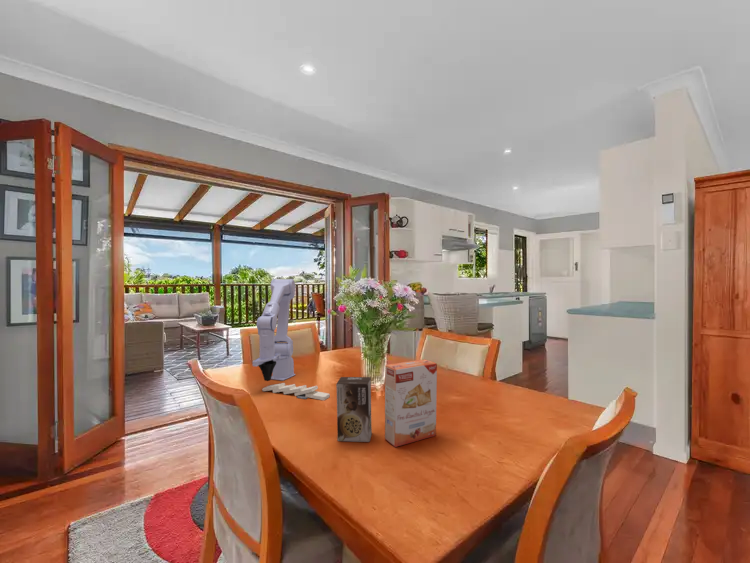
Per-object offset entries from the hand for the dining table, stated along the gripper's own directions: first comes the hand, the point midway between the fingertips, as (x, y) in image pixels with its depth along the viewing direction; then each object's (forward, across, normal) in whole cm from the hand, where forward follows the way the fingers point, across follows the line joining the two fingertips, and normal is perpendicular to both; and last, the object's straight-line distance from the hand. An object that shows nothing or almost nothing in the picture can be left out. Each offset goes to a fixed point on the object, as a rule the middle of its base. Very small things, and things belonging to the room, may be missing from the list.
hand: (267, 380), depth 139 cm
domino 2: (+3, 0, -4) cm, 5 cm away
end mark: (+4, 0, -18) cm, 18 cm away
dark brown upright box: (+4, -24, -50) cm, 55 cm away
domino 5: (+3, 0, -19) cm, 19 cm away
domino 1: (+3, 0, +1) cm, 3 cm away
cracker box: (+4, -19, -64) cm, 67 cm away
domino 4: (+3, 0, -14) cm, 15 cm away
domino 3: (+3, 0, -9) cm, 10 cm away
